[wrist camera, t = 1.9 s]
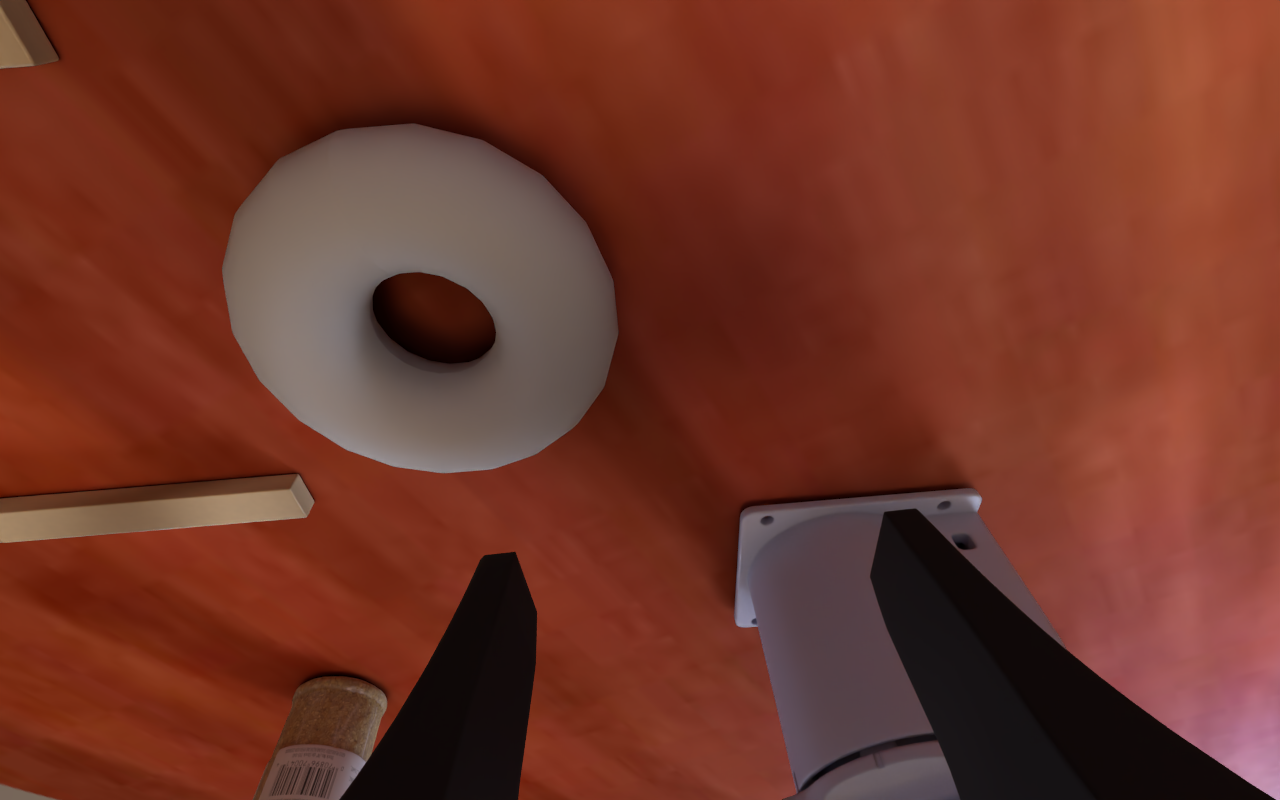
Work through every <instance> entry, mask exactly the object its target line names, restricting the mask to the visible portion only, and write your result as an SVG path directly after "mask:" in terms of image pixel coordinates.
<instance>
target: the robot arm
mask: <svg viewBox="0 0 1280 800" xmlns="http://www.w3.org/2000/svg"><path fill="white" fill-rule="evenodd" d="M981 501H982V498H981V496H980V494H979V493H978V492H977V490H975V489H973V488H964V489H952V490H940V491H928V492H916V493H904V494H892V495H880V496H868V497H857V498H845V499H833V500H821V501H809V502H797V503H785V504H773V505H761V506H752V507H748V508H746V509H744V510H743V511H742V512H741V515H740V527H739V544H738V560H737V577H736V594H735V611H734V618H735V623H736V625H738V626H739V627H756V626H758V629H759V633H760V637H761V642H762V646H763V650H764V655H765V659H766V663H767V667H768V672H769V676H770V680H771V685H772V689H773V693H774V697H775V702H776V706H777V710H778V715H779V719H780V723H781V728H782V732H783V736H784V740H785V745H786V749H787V753H788V758H789V762H790V766H791V770H792V775H793V779H794V783H795V788H796V792H797V794H795V795H793V796H790V797H787V798H784V799H782V800H1276V799H1274V798H1272V797H1271V796H1269V795H1268V794H1266V793H1264V792H1263V791H1261V790H1260V789H1258V788H1256V787H1255V786H1253V785H1252V784H1250V783H1249V782H1247V781H1246V780H1244V779H1243V778H1241V777H1240V776H1238V775H1237V774H1235V773H1234V772H1232V771H1231V770H1229V769H1228V768H1226V767H1225V766H1223V765H1222V764H1220V763H1219V762H1218V761H1216V760H1215V759H1213V758H1212V757H1210V756H1209V755H1207V754H1206V753H1204V752H1203V751H1201V750H1200V749H1198V748H1197V747H1195V746H1194V745H1192V744H1191V743H1189V742H1188V741H1186V740H1185V739H1183V738H1182V737H1181V736H1179V735H1178V734H1176V733H1175V732H1173V731H1172V730H1170V729H1169V728H1167V727H1166V726H1165V725H1163V724H1162V723H1161V722H1159V721H1158V720H1157V719H1155V718H1154V717H1152V716H1151V715H1150V714H1148V713H1147V712H1146V711H1144V710H1143V709H1141V708H1140V707H1139V706H1137V705H1136V704H1135V703H1133V702H1132V701H1131V700H1129V699H1128V698H1127V697H1125V696H1124V695H1123V694H1121V693H1120V692H1119V691H1118V690H1116V689H1115V688H1114V687H1112V686H1111V685H1110V684H1108V683H1107V682H1106V681H1105V680H1103V679H1102V678H1101V677H1099V676H1098V675H1097V674H1096V673H1094V672H1093V671H1092V670H1091V669H1089V668H1088V667H1087V666H1086V665H1084V664H1083V663H1082V662H1081V661H1080V660H1078V659H1077V658H1076V657H1075V656H1073V655H1072V654H1071V653H1070V652H1069V651H1067V649H1066V647H1065V645H1064V643H1063V642H1062V640H1061V638H1060V637H1059V635H1058V633H1057V632H1056V630H1055V629H1054V627H1053V626H1052V624H1051V623H1050V621H1049V620H1048V618H1047V617H1046V615H1045V614H1044V612H1043V611H1042V609H1041V608H1040V606H1039V605H1038V603H1037V602H1036V600H1035V599H1034V597H1033V596H1032V594H1031V593H1030V591H1029V590H1028V588H1027V587H1026V585H1025V584H1024V582H1023V581H1022V579H1021V578H1020V576H1019V575H1018V573H1017V572H1016V570H1015V569H1014V567H1013V566H1012V564H1011V563H1010V561H1009V560H1008V558H1007V557H1006V555H1005V554H1004V552H1003V551H1002V549H1001V548H1000V546H999V545H998V543H997V542H996V540H995V539H994V537H993V536H992V534H991V533H990V531H989V530H988V528H987V526H986V525H985V523H984V522H983V520H982V519H981V517H980V516H979V514H978V513H977V511H978V509H979V506H980V504H981ZM765 516H768V517H765ZM536 637H537V611H536V608H535V605H534V602H533V600H532V597H531V594H530V591H529V588H528V586H527V583H526V580H525V577H524V575H523V572H522V569H521V566H520V564H519V561H518V558H517V555H516V552H510V553H501V554H492V555H485V556H484V557H483V558H482V559H481V560H480V562H479V564H478V566H477V568H476V571H475V573H474V575H473V577H472V579H471V581H470V584H469V586H468V588H467V590H466V592H465V594H464V596H463V598H462V600H461V602H460V604H459V606H458V608H457V610H456V612H455V614H454V616H453V618H452V620H451V622H450V624H449V626H448V628H447V630H446V632H445V633H444V635H443V637H442V639H441V641H440V643H439V644H438V646H437V648H436V650H435V652H434V654H433V655H432V657H431V659H430V661H429V663H428V665H427V666H426V668H425V670H424V672H423V673H422V675H421V677H420V678H419V680H418V682H417V683H416V685H415V687H414V688H413V690H412V692H411V693H410V695H409V697H408V698H407V700H406V702H405V703H404V705H403V707H402V708H401V710H400V712H399V713H398V715H397V716H396V718H395V720H394V721H393V723H392V724H391V726H390V727H389V729H388V730H387V732H386V734H385V735H384V737H383V738H382V740H381V741H380V743H379V744H378V746H377V747H376V749H375V750H374V752H373V753H372V755H371V756H370V757H369V759H368V760H367V762H366V763H365V765H364V766H363V768H362V769H361V770H360V772H359V773H358V775H357V776H356V778H355V779H354V780H353V782H352V783H351V784H350V786H349V787H348V788H347V790H346V791H345V793H344V794H343V795H342V797H341V798H340V799H339V800H518V794H519V784H520V777H521V770H522V762H523V755H524V748H525V740H526V733H527V726H528V719H529V711H530V704H531V696H532V689H533V681H534V673H535V665H536Z"/></svg>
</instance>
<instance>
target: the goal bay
mask: <svg viewBox="0 0 1280 800" xmlns="http://www.w3.org/2000/svg"><path fill="white" fill-rule="evenodd" d="M58 60H59V57H58V56H57V54H56V52H55V50H54V49H53V47H52V45H51V43H50V42H49V40H48V38H47V36H46V35H45V33H44V31H43V30H42V28H41V26H40V24H39V23H38V21H37V19H36V17H35V16H34V14H33V12H32V10H31V9H30V7H29V5H28V3H27V2H26V0H0V69H3V68H15V67H28V66H37V65H41V64H46V63H51V62H55V61H58ZM313 504H314V500H313V498H312V496H311V495H310V493H309V491H308V489H307V488H306V486H305V484H304V482H303V481H302V479H301V477H300V475H299V474H289V475H277V476H265V477H253V478H241V479H229V480H217V481H205V482H193V483H181V484H169V485H157V486H145V487H133V488H121V489H109V490H97V491H85V492H73V493H61V494H49V495H37V496H25V497H13V498H1V499H0V543H2V542H4V543H8V542H20V541H32V540H44V539H56V538H68V537H80V536H92V535H103V534H115V533H127V532H139V531H151V530H163V529H175V528H187V527H199V526H211V525H223V524H235V523H247V522H259V521H271V520H282V519H294V518H306V517H307V516H308V514H309V512H310V510H311V508H312V506H313Z"/></svg>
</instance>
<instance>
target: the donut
mask: <svg viewBox="0 0 1280 800" xmlns="http://www.w3.org/2000/svg"><path fill="white" fill-rule="evenodd" d="M412 272H422V273H427V274H432V275H438V276H442V277H444V278H446V279H448V280H451V281H453V282H455V283H457V284H459V285H461V286H463V287H465V288H467V289H468V290H469V291H470V292H471V293H473V294H474V295H475V296H476V297H477V298H478V299H479V300H481V301H482V302H483V304H484V305H485V307H486V308H487V310H488V312H489V313H490V315H491V316H492V318H493V321H494V325H495V329H496V337H495V343H494V345H493V346H492V348H491V349H490V350H489V351H488V352H486V353H485V354H484V355H483V356H482V357H480V358H478V359H476V360H473V361H471V362H463V363H451V364H448V363H442V362H436V361H430V360H426V359H424V358H422V357H419V356H417V355H415V354H413V353H410V352H408V351H406V350H405V349H404V348H402V347H401V346H400V345H398V344H397V343H396V342H394V341H393V340H392V339H391V338H389V336H388V335H387V334H386V332H385V331H384V330H383V329H382V327H381V326H380V325H379V324H378V322H377V320H376V317H375V315H374V312H373V293H374V291H375V288H376V287H377V286H378V285H379V284H380V283H381V282H382V281H383V280H385V279H387V278H390V277H392V276H394V275H397V274H400V273H412ZM222 273H223V282H224V287H225V293H226V299H227V304H228V310H229V315H230V321H231V327H232V332H233V334H234V336H235V338H236V340H237V342H238V343H239V345H240V347H241V349H242V350H243V352H244V354H245V356H246V358H247V359H248V361H249V363H250V365H251V366H252V368H253V370H254V372H255V374H256V375H257V377H258V379H259V381H260V382H261V383H262V384H263V385H264V386H265V387H266V388H267V389H268V390H269V391H270V392H271V393H272V394H273V395H274V396H275V397H276V398H277V399H278V400H279V401H280V402H281V403H282V404H283V405H284V406H285V407H286V408H287V409H288V410H289V411H290V412H291V413H292V414H293V415H294V416H295V417H296V418H297V419H298V420H300V421H301V422H303V423H304V424H306V425H307V426H309V427H311V428H312V429H314V430H315V431H317V432H319V433H320V434H322V435H324V436H325V437H327V438H328V439H330V440H332V441H333V442H335V443H336V444H338V445H340V446H341V447H343V448H344V449H346V450H349V451H352V452H354V453H357V454H360V455H363V456H366V457H368V458H371V459H374V460H377V461H380V462H382V463H385V464H388V465H391V466H394V467H401V468H408V469H416V470H423V471H430V472H438V473H453V472H465V471H477V470H488V469H495V468H498V467H501V466H503V465H506V464H509V463H512V462H515V461H518V460H521V459H524V458H527V457H530V456H533V455H536V454H537V453H539V452H540V451H541V450H543V449H544V448H546V447H547V446H548V445H550V444H551V443H553V442H554V441H556V440H557V439H558V438H560V437H561V436H563V435H564V434H565V433H567V432H568V431H570V430H571V429H572V428H573V427H574V426H576V425H577V424H578V423H579V421H580V420H581V419H582V417H583V416H584V414H585V413H586V412H587V410H588V409H589V408H590V406H591V405H592V403H593V402H594V401H595V399H596V398H597V396H598V395H599V394H600V392H601V391H602V389H603V388H604V386H605V382H606V379H607V375H608V371H609V367H610V364H611V360H612V356H613V352H614V349H615V345H616V341H617V337H618V334H619V331H618V321H617V311H616V301H615V291H614V281H613V279H612V277H611V274H610V272H609V270H608V268H607V266H606V263H605V261H604V259H603V257H602V255H601V253H600V251H599V249H598V246H597V244H596V242H595V240H594V238H593V236H592V234H591V232H590V229H589V227H588V225H587V223H586V222H585V220H584V219H583V218H582V217H581V216H580V215H579V214H578V213H577V212H576V211H575V210H574V209H573V208H572V206H571V205H570V204H569V203H568V202H567V201H566V200H565V199H564V198H563V197H562V196H561V195H560V193H559V192H558V191H557V190H556V189H555V188H554V187H553V186H552V185H551V184H550V183H549V182H548V181H547V179H546V178H545V177H544V176H543V175H541V174H540V173H538V172H536V171H534V170H533V169H531V168H529V167H528V166H526V165H524V164H523V163H521V162H519V161H518V160H516V159H514V158H512V157H511V156H509V155H507V154H506V153H504V152H502V151H501V150H499V149H497V148H495V147H494V146H492V145H490V144H489V143H487V142H485V141H484V140H481V139H477V138H472V137H468V136H464V135H460V134H456V133H452V132H448V131H444V130H439V129H435V128H431V127H427V126H423V125H419V124H415V123H411V124H399V125H387V126H375V127H363V128H351V129H343V130H338V131H335V132H333V133H331V134H329V135H327V136H325V137H323V138H321V139H319V140H317V141H315V142H313V143H311V144H309V145H307V146H305V147H303V148H300V149H298V150H296V151H294V152H292V153H290V154H288V155H286V156H284V157H282V158H280V159H278V161H277V162H276V163H275V164H274V165H273V167H272V168H271V169H270V170H269V172H268V173H267V174H266V175H265V177H264V178H263V179H262V180H261V181H260V183H259V184H258V185H257V186H256V188H255V189H254V190H253V191H252V192H251V194H250V195H249V196H248V197H247V199H246V200H245V201H244V202H243V203H242V205H241V206H240V208H239V209H238V211H237V212H236V213H235V215H234V220H233V224H232V228H231V232H230V237H229V241H228V245H227V249H226V254H225V258H224V262H223V266H222Z"/></svg>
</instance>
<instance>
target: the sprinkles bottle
mask: <svg viewBox="0 0 1280 800" xmlns="http://www.w3.org/2000/svg"><path fill="white" fill-rule="evenodd" d="M386 708H387V699H386V697H385V694H384V693H383V692H382V691H381V690H380V689H378V688H376V686H374V685H372V684H370V683H368V682H366V681H363V680H360V679H357V678H352V677H347V676H329V677H321V678H315V679H312V680H310V681H308V682H306V683H304V684H302V685H300V686H299V687H298V688H297V690H296V692H295V694H294V697H293V699H292V708H291V711H290V714H289V716H288V718H287V720H286V723H285V725H284V728H283V730H282V733H281V735H280V738H279V740H278V743H277V746H276V748H275V750H274V753H273V755H272V758H271V759H270V761H269V762H268V764H267V766H266V768H265V771H264V773H263V776H262V778H261V780H260V783H259V785H258V788H257V790H256V793H255V795H254V798H253V800H339V799H340V798H341V797H342V795H343V794H344V793H345V791H346V790H347V788H348V787H349V786H350V784H351V783H352V782H353V780H354V779H355V778H356V776H357V775H358V773H359V772H360V770H361V769H362V768H363V766H364V765H365V763H366V762H367V760H368V759H369V757H370V756H371V754H372V750H373V746H374V742H375V739H376V735H377V731H378V728H379V724H380V720H381V717H382V716H383V714H384V712H385V711H386Z"/></svg>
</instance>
